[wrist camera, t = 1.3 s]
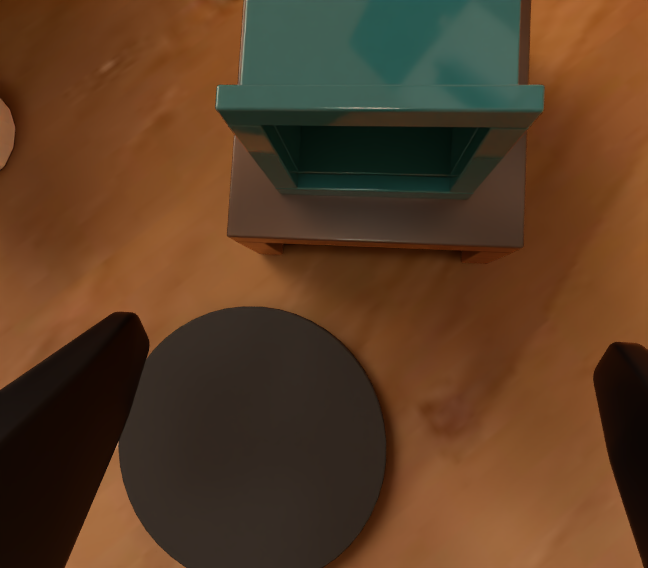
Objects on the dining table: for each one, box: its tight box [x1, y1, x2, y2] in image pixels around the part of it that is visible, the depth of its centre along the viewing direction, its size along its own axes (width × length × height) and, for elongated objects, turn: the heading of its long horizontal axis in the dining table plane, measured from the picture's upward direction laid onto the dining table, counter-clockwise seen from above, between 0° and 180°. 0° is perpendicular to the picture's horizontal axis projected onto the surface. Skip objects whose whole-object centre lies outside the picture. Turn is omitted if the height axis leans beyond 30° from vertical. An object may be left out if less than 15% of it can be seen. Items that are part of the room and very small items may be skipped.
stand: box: [227, 0, 531, 264], centre depth 19 cm, size 11×11×5 cm
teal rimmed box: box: [215, 0, 545, 200], centre depth 13 cm, size 8×7×7 cm
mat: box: [118, 307, 386, 568], centre depth 21 cm, size 13×13×1 cm
